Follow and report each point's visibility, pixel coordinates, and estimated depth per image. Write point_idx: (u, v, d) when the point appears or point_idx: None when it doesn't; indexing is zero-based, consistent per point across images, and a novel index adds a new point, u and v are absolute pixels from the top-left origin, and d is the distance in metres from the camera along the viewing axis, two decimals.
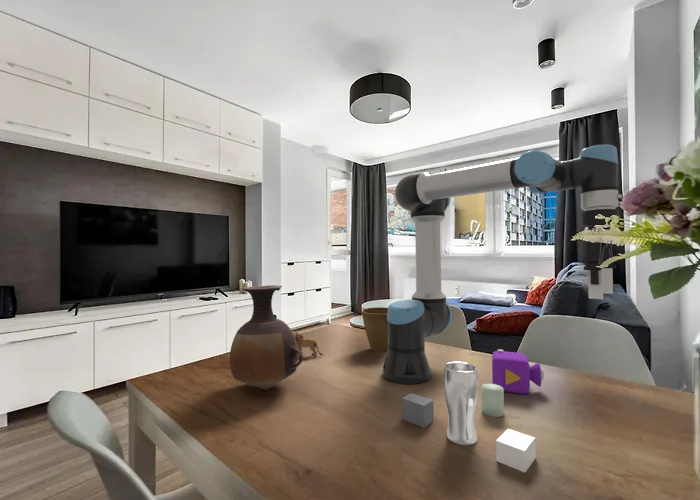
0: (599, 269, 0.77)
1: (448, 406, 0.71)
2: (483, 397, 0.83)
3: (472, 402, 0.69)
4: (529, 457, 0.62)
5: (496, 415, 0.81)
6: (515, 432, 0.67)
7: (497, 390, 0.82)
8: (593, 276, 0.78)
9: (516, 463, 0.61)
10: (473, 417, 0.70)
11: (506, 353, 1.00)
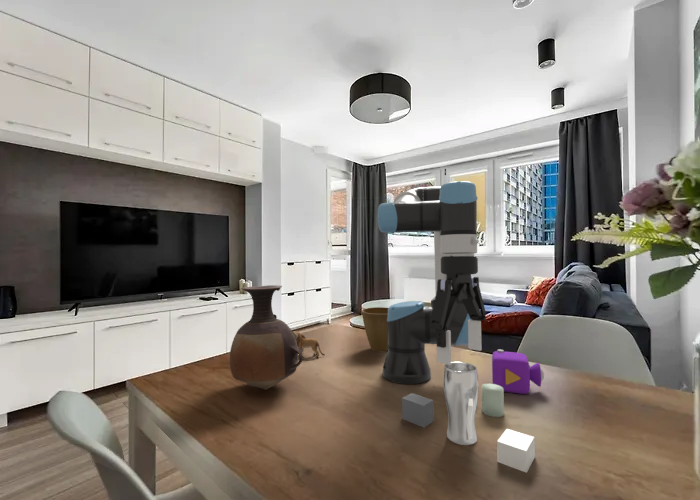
0: (444, 329, 0.66)
1: (448, 406, 0.71)
2: (483, 397, 0.83)
3: (472, 402, 0.69)
4: (530, 457, 0.62)
5: (496, 415, 0.81)
6: (514, 432, 0.67)
7: (497, 390, 0.82)
8: (439, 337, 0.66)
9: (517, 463, 0.61)
10: (473, 417, 0.70)
11: (506, 353, 1.00)
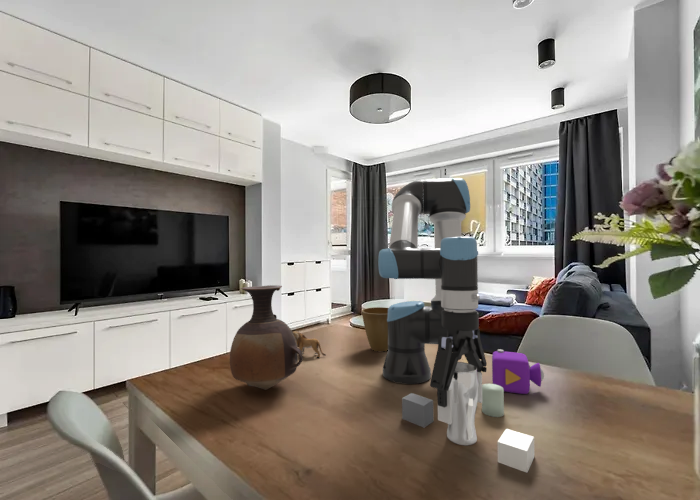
0: (445, 389, 0.66)
1: None
2: (483, 397, 0.83)
3: (472, 402, 0.69)
4: (530, 457, 0.62)
5: (496, 415, 0.81)
6: (514, 432, 0.67)
7: (497, 390, 0.82)
8: (440, 396, 0.66)
9: (518, 463, 0.61)
10: (473, 417, 0.70)
11: (506, 353, 1.00)
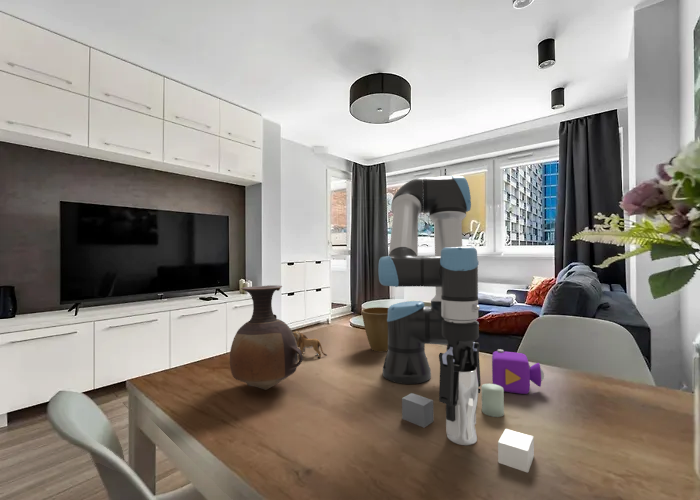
0: (454, 405, 0.68)
1: None
2: (483, 397, 0.83)
3: (472, 402, 0.69)
4: (530, 457, 0.63)
5: (496, 415, 0.81)
6: (513, 432, 0.67)
7: (497, 390, 0.82)
8: (448, 411, 0.69)
9: (519, 464, 0.61)
10: (473, 417, 0.70)
11: (506, 353, 1.00)
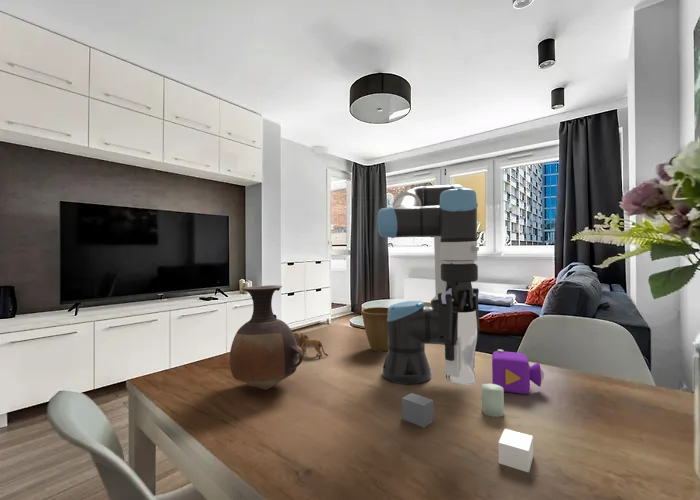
0: (453, 344, 0.68)
1: None
2: (483, 397, 0.83)
3: (471, 342, 0.69)
4: (530, 456, 0.63)
5: (496, 415, 0.81)
6: (513, 432, 0.67)
7: (497, 390, 0.82)
8: (447, 351, 0.69)
9: (519, 464, 0.61)
10: (472, 358, 0.71)
11: (506, 353, 1.00)
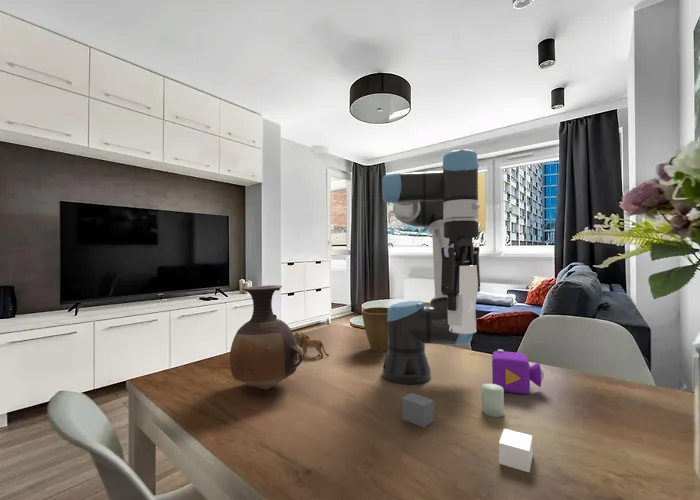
0: (455, 295, 0.73)
1: None
2: (483, 397, 0.83)
3: (472, 294, 0.74)
4: (530, 456, 0.63)
5: (496, 415, 0.81)
6: (512, 432, 0.67)
7: (497, 390, 0.82)
8: (450, 301, 0.74)
9: (520, 464, 0.61)
10: (473, 309, 0.75)
11: (506, 353, 1.00)
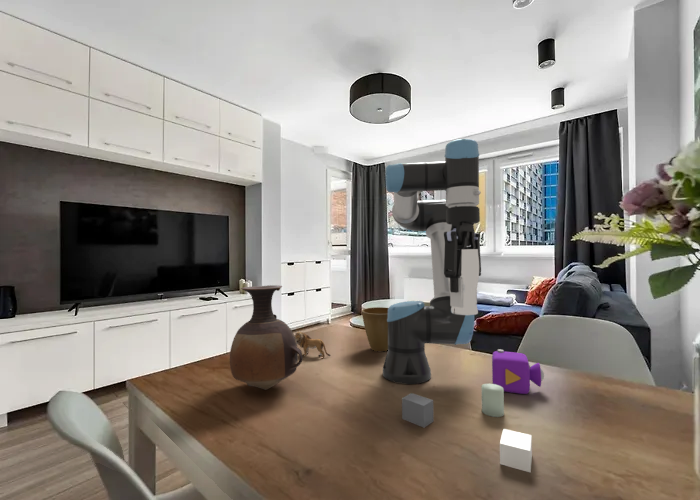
0: (457, 277, 0.76)
1: None
2: (483, 397, 0.83)
3: (473, 276, 0.77)
4: None
5: (496, 415, 0.81)
6: (512, 432, 0.67)
7: (497, 390, 0.82)
8: (452, 284, 0.77)
9: (521, 464, 0.61)
10: (474, 291, 0.78)
11: (506, 353, 1.00)
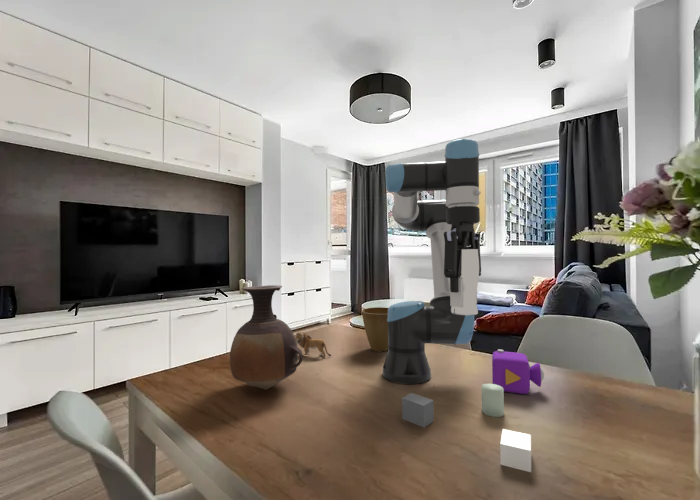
0: (457, 277, 0.76)
1: None
2: (483, 397, 0.83)
3: (473, 276, 0.77)
4: None
5: (496, 415, 0.81)
6: (511, 432, 0.67)
7: (497, 390, 0.82)
8: (452, 284, 0.77)
9: (522, 464, 0.61)
10: (474, 291, 0.78)
11: (506, 353, 1.00)
